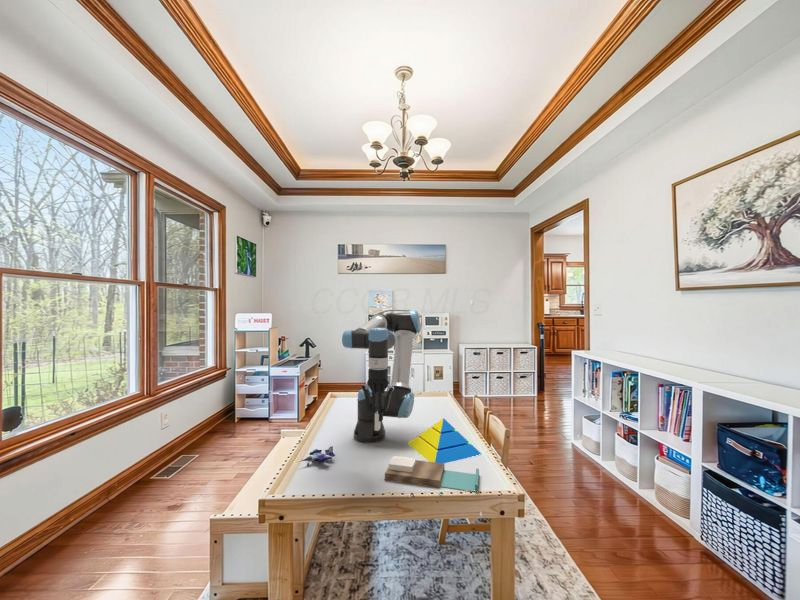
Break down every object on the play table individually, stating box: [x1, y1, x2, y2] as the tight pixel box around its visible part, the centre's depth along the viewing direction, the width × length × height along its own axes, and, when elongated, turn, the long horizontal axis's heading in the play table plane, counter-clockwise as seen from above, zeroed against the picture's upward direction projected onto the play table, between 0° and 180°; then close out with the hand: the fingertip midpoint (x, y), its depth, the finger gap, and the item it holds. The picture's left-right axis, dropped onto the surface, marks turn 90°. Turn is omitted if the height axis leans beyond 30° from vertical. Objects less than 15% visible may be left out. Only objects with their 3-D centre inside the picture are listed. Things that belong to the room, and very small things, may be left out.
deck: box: [384, 459, 445, 489], centre depth 129 cm, size 20×13×2 cm, turn 75°
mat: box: [440, 468, 480, 492], centre depth 125 cm, size 13×12×2 cm
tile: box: [388, 455, 417, 472], centre depth 130 cm, size 9×7×2 cm
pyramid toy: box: [407, 417, 482, 464], centre depth 152 cm, size 25×25×14 cm
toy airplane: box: [298, 445, 336, 467], centre depth 138 cm, size 13×14×4 cm
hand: (377, 429), depth 133 cm, fingers closed
